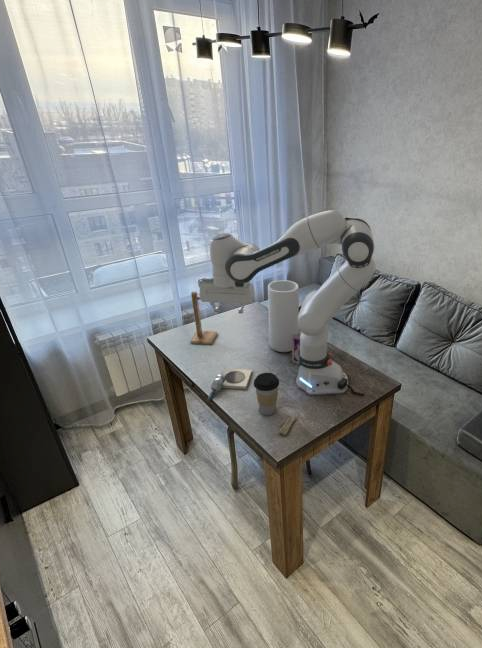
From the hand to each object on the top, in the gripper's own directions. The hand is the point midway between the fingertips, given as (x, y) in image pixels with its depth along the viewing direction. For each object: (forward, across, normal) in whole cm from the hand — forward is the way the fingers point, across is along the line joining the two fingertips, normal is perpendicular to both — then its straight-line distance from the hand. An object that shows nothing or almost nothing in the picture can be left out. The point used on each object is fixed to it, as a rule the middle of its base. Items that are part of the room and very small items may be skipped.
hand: (228, 312), depth 153 cm
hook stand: (+32, -21, +32) cm, 50 cm away
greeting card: (+33, +29, +16) cm, 46 cm away
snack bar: (+33, +26, -26) cm, 49 cm away
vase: (+33, +17, +30) cm, 47 cm away
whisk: (+27, -4, -3) cm, 28 cm away
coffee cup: (+33, +17, -18) cm, 41 cm away
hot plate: (+32, 0, 0) cm, 32 cm away
